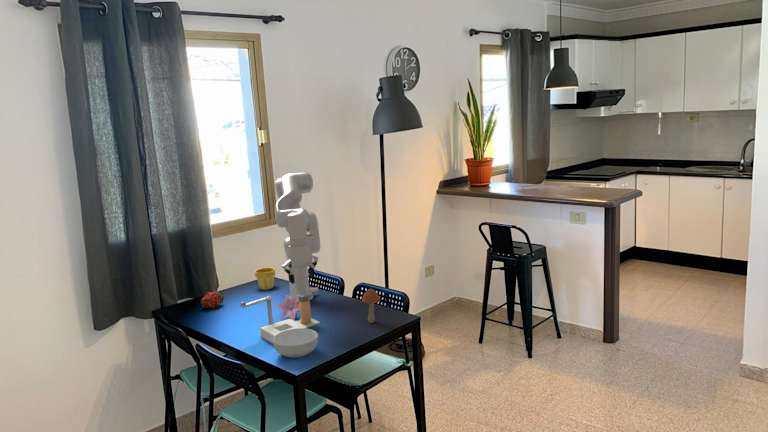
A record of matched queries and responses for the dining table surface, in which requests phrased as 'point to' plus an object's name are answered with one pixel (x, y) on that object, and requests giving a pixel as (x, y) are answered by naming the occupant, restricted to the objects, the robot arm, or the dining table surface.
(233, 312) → the dining table surface
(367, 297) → the mushroom
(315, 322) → the pad
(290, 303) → the lily
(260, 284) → the plant pot
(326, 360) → the dining table surface
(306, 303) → the plug
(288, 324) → the socket block
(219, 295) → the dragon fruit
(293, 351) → the cereal bowl
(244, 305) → the grey ball-jointed lever
